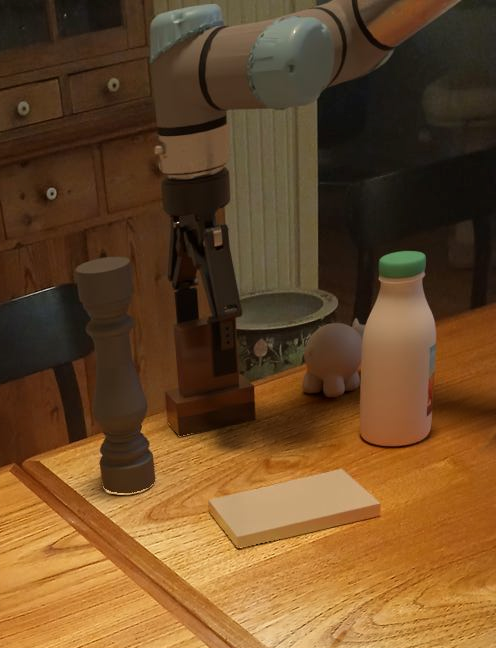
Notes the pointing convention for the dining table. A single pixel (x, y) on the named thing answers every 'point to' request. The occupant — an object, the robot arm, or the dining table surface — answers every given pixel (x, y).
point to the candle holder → (116, 375)
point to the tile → (293, 508)
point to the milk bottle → (398, 356)
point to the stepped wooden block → (205, 385)
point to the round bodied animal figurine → (333, 359)
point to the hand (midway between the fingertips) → (206, 357)
